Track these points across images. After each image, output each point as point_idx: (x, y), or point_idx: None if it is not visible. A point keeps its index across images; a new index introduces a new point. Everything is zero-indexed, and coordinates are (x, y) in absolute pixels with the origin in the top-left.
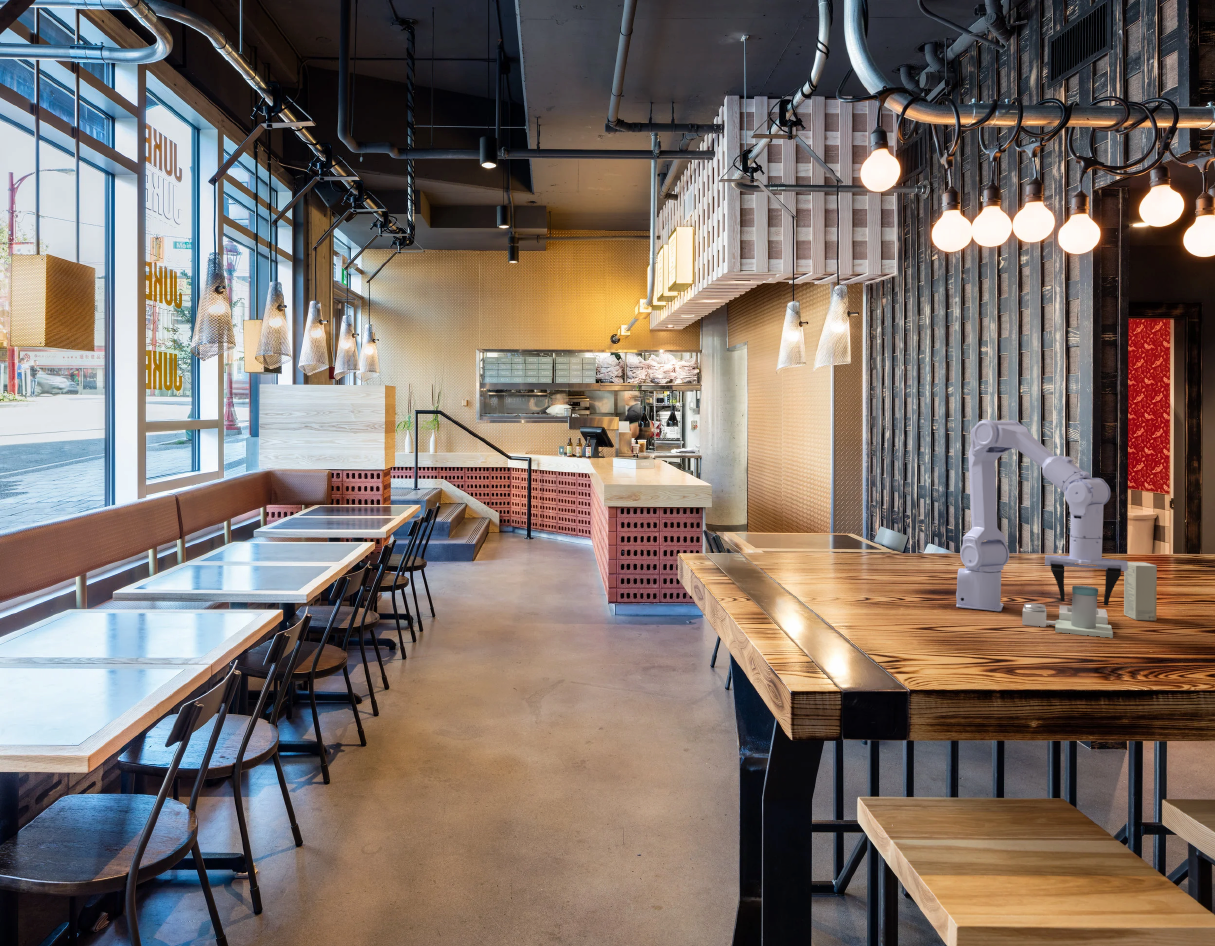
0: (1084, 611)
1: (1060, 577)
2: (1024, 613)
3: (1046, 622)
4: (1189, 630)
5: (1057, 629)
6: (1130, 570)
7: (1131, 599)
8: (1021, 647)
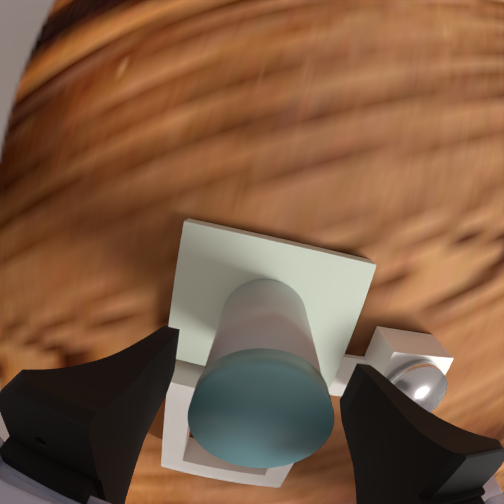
0: (275, 309)
1: (438, 432)
2: (445, 352)
3: None
4: (14, 373)
5: (367, 261)
6: None
7: None
8: (484, 32)
